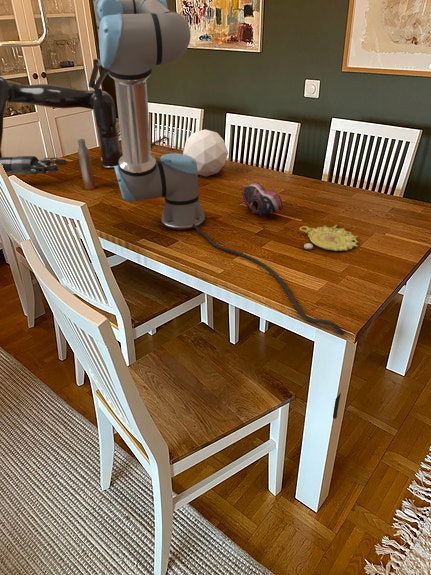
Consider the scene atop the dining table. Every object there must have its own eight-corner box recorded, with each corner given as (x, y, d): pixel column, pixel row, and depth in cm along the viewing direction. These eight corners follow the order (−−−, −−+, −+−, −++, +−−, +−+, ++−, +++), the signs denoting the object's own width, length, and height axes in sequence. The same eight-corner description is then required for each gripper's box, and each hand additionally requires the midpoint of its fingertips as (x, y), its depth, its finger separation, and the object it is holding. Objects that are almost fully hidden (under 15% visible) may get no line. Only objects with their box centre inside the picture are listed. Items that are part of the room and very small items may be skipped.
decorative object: (343, 255, 128) (285, 234, 139) (342, 262, 130) (284, 241, 140) (372, 230, 142) (317, 213, 152) (371, 237, 143) (316, 219, 153)
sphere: (211, 192, 199) (209, 165, 180) (177, 170, 204) (171, 142, 185) (236, 162, 204) (236, 133, 185) (201, 142, 209) (198, 112, 190)
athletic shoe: (254, 181, 170) (227, 189, 167) (283, 176, 151) (253, 185, 147) (260, 210, 173) (234, 218, 170) (290, 209, 154) (261, 219, 150)
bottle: (98, 187, 189) (89, 139, 178) (89, 190, 186) (80, 141, 175) (90, 185, 192) (82, 137, 181) (82, 188, 188) (72, 140, 178)
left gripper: (14, 161, 179) (52, 161, 177) (30, 151, 191) (66, 151, 189) (19, 179, 183) (56, 179, 181) (35, 168, 195) (70, 168, 193)
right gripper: (148, 41, 155) (154, 106, 166) (81, 43, 158) (91, 105, 170) (141, 43, 148) (148, 110, 160) (72, 44, 152) (83, 109, 164)
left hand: (61, 165), depth 185 cm, fingers open, 8 cm apart
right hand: (119, 108), depth 165 cm, fingers open, 13 cm apart
